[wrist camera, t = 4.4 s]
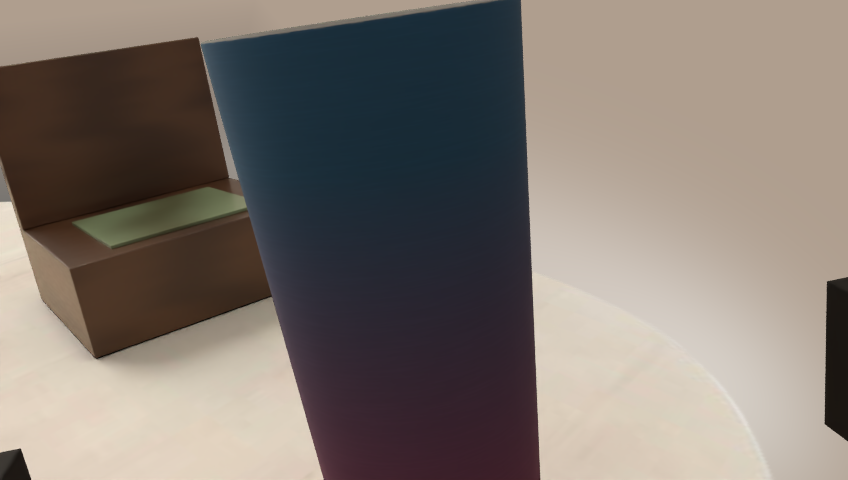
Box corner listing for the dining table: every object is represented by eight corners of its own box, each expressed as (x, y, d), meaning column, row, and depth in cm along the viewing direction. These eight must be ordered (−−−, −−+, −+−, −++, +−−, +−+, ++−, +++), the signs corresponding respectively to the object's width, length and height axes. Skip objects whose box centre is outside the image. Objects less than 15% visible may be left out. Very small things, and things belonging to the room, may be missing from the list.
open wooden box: (237, 239, 58) (192, 37, 54) (328, 275, 47) (281, 25, 43) (41, 299, 51) (-29, 70, 47) (95, 359, 40) (9, 66, 35)
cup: (433, 752, 16) (301, 30, 12) (282, 591, 22) (153, 48, 17) (633, 581, 20) (589, -16, 16) (463, 479, 25) (395, 11, 21)
